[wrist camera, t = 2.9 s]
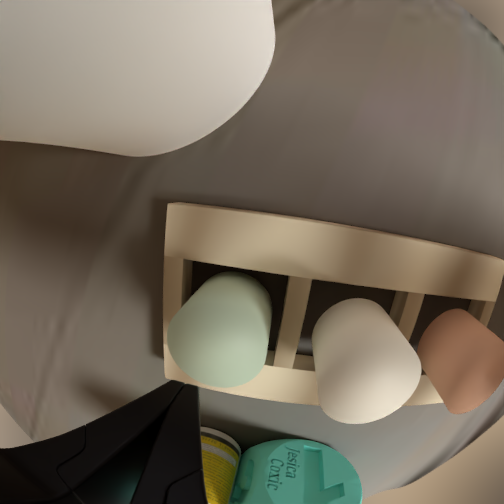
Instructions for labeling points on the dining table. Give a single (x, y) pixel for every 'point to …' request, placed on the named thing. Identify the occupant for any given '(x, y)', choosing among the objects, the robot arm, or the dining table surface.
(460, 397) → the button terracotta
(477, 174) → the dining table surface
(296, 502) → the turquoise rounded piece
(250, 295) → the button sage
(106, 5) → the canister
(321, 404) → the button cream
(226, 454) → the supplement bottle
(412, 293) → the three-slot wooden rack
